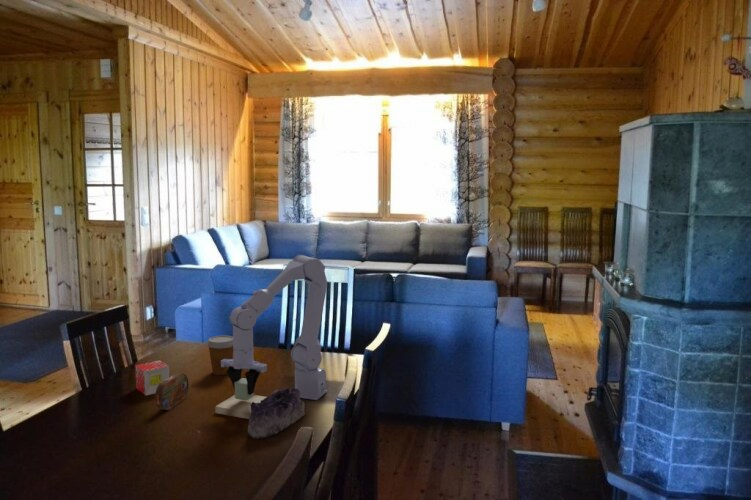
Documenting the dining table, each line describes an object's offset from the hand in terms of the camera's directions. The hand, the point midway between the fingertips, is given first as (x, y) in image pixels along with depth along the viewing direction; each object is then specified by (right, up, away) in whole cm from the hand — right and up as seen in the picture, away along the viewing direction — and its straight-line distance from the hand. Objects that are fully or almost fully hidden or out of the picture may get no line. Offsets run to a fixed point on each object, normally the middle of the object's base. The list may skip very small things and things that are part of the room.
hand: (244, 392), depth 175 cm
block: (0, -1, 0) cm, 2 cm away
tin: (-22, -5, +3) cm, 23 cm away
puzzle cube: (-33, -3, +16) cm, 36 cm away
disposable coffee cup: (-15, -1, +32) cm, 36 cm away
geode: (+11, -7, -11) cm, 17 cm away
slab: (0, -5, +1) cm, 5 cm away
